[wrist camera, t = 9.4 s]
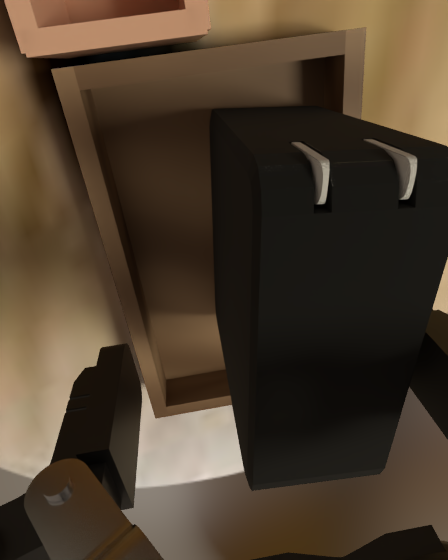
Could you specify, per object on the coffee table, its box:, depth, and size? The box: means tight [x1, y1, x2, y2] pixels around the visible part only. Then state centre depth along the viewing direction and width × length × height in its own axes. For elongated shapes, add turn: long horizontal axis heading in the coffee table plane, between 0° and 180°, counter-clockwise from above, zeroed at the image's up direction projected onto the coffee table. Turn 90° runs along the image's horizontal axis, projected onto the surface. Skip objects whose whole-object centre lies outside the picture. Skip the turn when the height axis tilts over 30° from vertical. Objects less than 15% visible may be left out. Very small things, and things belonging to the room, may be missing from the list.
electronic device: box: [209, 106, 448, 491], centre depth 14 cm, size 4×10×10 cm, turn 1°
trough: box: [51, 27, 366, 418], centre depth 18 cm, size 16×10×3 cm, turn 6°
